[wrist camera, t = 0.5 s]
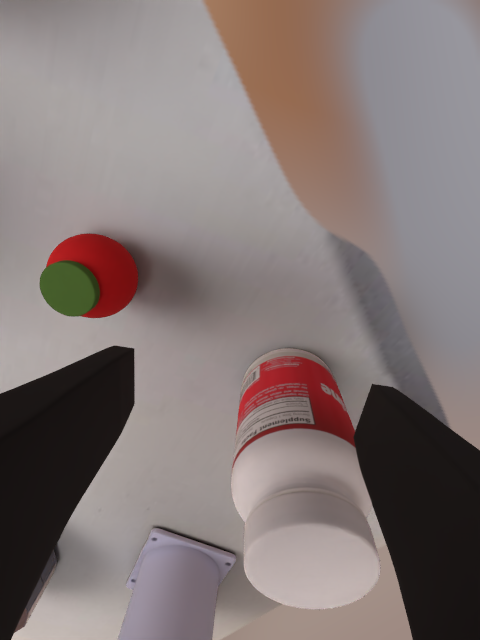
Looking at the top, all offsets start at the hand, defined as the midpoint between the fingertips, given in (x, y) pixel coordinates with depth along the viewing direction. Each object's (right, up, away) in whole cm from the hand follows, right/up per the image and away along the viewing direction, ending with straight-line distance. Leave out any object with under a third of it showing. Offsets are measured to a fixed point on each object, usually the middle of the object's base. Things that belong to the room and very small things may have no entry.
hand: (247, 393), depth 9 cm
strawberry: (-8, +5, +9) cm, 13 cm away
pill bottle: (+3, -2, +12) cm, 12 cm away
